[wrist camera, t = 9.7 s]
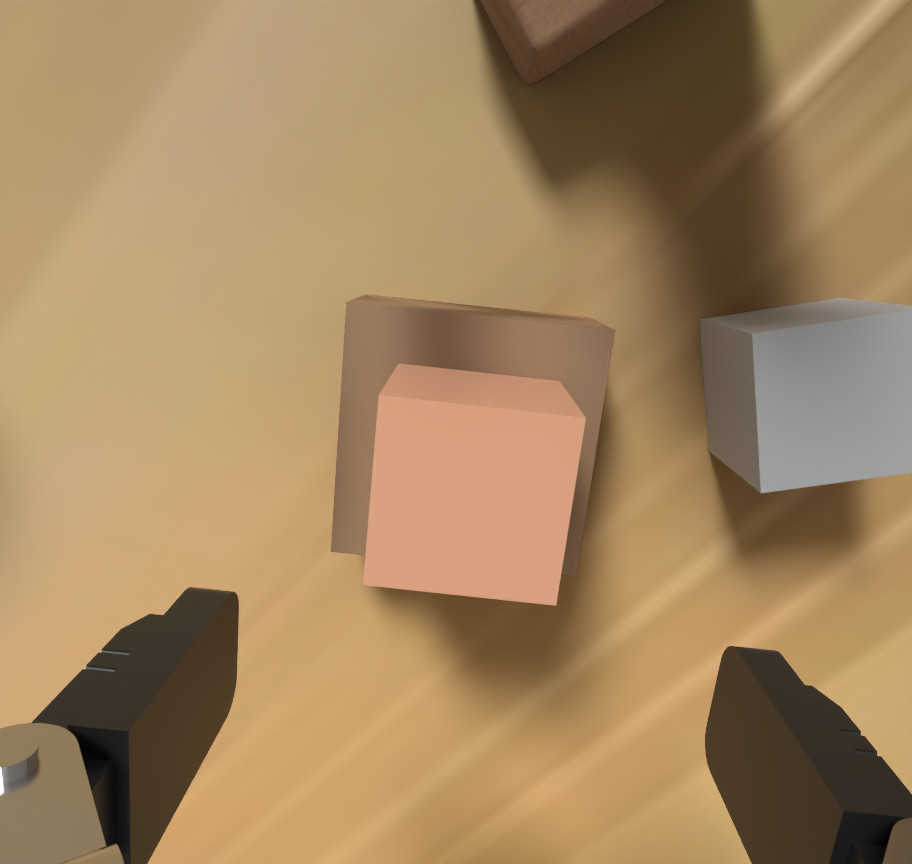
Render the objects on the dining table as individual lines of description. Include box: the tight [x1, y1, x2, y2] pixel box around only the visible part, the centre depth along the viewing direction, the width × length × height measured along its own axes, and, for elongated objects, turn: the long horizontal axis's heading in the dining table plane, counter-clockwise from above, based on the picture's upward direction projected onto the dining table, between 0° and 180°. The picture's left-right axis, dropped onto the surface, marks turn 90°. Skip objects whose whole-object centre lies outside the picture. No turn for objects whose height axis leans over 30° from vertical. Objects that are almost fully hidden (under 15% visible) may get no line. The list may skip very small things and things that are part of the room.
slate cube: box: [699, 298, 912, 493], centre depth 26 cm, size 6×6×6 cm
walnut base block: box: [331, 294, 615, 577], centre depth 27 cm, size 9×9×5 cm
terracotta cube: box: [363, 363, 586, 606], centre depth 22 cm, size 6×6×6 cm
